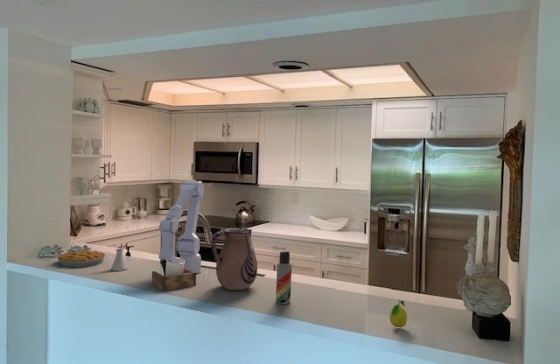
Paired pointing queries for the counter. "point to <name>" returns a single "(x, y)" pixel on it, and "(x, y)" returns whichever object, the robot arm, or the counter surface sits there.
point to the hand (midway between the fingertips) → (167, 276)
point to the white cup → (175, 267)
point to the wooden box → (174, 280)
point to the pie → (81, 258)
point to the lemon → (398, 315)
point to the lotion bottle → (283, 279)
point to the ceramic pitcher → (235, 259)
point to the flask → (119, 261)
